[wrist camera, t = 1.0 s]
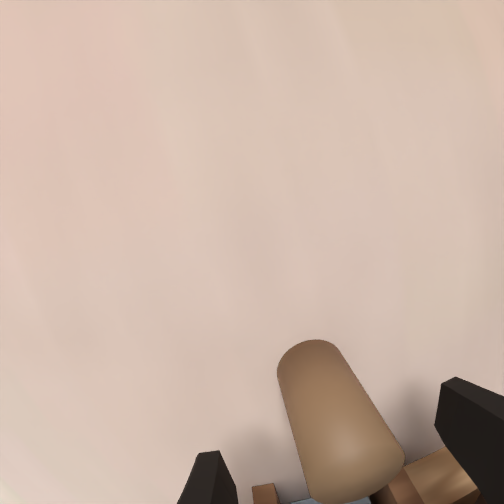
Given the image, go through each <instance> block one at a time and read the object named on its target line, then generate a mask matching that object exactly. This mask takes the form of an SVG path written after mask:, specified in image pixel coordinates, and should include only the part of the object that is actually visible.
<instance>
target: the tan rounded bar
mask: <svg viewBox="0 0 504 504" xmlns="http://www.w3.org/2000/svg"><path fill="white" fill-rule="evenodd" d="M277 377H278V381H279V385H280V388H281V392H282V396H283V399H284V403H285V407H286V410H287V414H288V418H289V421H290V425H291V429H292V432H293V436H294V440H295V443H296V447H297V450H298V454H299V458H300V461H301V465H302V468H303V472H304V476H305V479H306V483H307V486H308V490H309V493H310V496H311V497H312V498H309V499H305V500H301V501H297V502H292V503H291V504H371V502H370V500H369V498H368V496H369V495H371V494H373V493H375V492H377V491H379V490H380V489H382V488H383V487H385V486H386V485H387V484H388V483H390V482H391V481H392V480H393V479H394V478H395V477H396V476H397V474H398V473H399V472H400V470H401V468H402V467H403V464H404V461H405V454H404V452H403V450H402V448H401V447H400V445H399V443H398V442H397V440H396V439H395V437H394V435H393V434H392V432H391V431H390V429H389V428H388V426H387V424H386V423H385V421H384V420H383V418H382V416H381V415H380V413H379V412H378V410H377V409H376V407H375V405H374V404H373V402H372V401H371V399H370V398H369V396H368V394H367V393H366V391H365V390H364V388H363V387H362V385H361V384H360V382H359V380H358V379H357V377H356V376H355V374H354V373H353V371H352V370H351V368H350V366H349V365H348V363H347V362H346V360H345V359H344V357H343V356H342V354H341V353H340V351H339V350H338V348H337V347H336V346H335V345H333V344H332V343H330V342H327V341H324V340H308V341H304V342H301V343H299V344H297V345H295V346H293V347H292V348H291V349H289V350H288V351H287V352H286V353H285V354H284V355H283V357H282V358H281V360H280V362H279V365H278V368H277Z"/></svg>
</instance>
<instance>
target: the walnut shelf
mask: <svg viewBox="0 0 504 504" xmlns="http://www.w3.org/2000/svg"><path fill="white" fill-rule="evenodd" d="M252 492H253V501H254V504H280V501H279V498H278V495H277V492H276V489H275V486H274V483H272V484H266V485H261V486H255V487H252ZM369 500H370V502H371V504H424V502H423V500H422V498H421V497H420V495H419V493H418V492H417V490H416V488H415V486H414V485H413V483H412V481H411V480H410V478H409V476H408V474H407V473H406V471H405V469H404V468H403V467H402V468H401V470H400V472H399V473H398V474H397V476H396V477H395V478H394V479H393V480H392V481H391V482H390V483H388V484H387V485H386V486H385V487H383V488H382V489H380V490H379V491H377V492H375V493H373V494H371V495H370V497H369ZM475 504H487V502H486V501H485V499H484V497H483V495H482V494H481V493H480V495H479V497H478V498H477V500H476V502H475Z"/></svg>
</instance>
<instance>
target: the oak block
mask: <svg viewBox="0 0 504 504" xmlns="http://www.w3.org/2000/svg"><path fill="white" fill-rule="evenodd" d="M403 468H404V469H405V471H406V473H407V474H408V476H409V478H410V480H411V481H412V483H413V485H414V486H415V488H416V490H417V492H418V493H419V495H420V497H421V498H422V500H423V502H424V504H475V502H476V500H477V498H478V497H479V495H480V493H481V492H480V491H479V489H478V488H477V486H476V485H475V484H474V482H473V481H472V480H471V478H470V477H469V476H468V475H467V473H466V472H465V471H464V469H463V468H462V467H461V466H460V464H459V463H458V462H457V460H456V459H455V458H454V457H453V455H452V454H451V453H450V451H449V450H448V449H447V447H444V448H442V449H440V450H438V451H436V452H434V453H432V454H430V455H428V456H426V457H424V458H421V459H419V460H417V461H415V462H413V463H410V464H408V465H406V466H404V467H403Z"/></svg>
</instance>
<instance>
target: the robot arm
mask: <svg viewBox="0 0 504 504" xmlns="http://www.w3.org/2000/svg"><path fill="white" fill-rule="evenodd" d="M434 426H435V428H436V430H437V431H438V433H439V435H440V437H441V439H442V441H443V442H444V444H445V446H446V447H447V449H448V450H449V451H450V453H451V454H452V455H453V457H454V458H455V459H456V460H457V462H458V463H459V464H460V466H461V467H462V468H463V469H464V471H465V472H466V473H467V475H468V476H469V477H470V478H471V480H472V481H473V482H474V484H475V485H476V486H477V488H478V489H479V491H480V492H481V494H482V495H483V497H484V499H485V501H486V502H487V504H504V396H502V395H499V394H497V393H494V392H492V391H489V390H487V389H484V388H482V387H480V386H477V385H475V384H473V383H470V382H468V381H465V380H463V379H460V378H458V377H454V378H452V379H450V380H448V381H446V382H443V383H441V389H440V396H439V402H438V408H437V413H436V419H435V424H434ZM177 504H238V498H237V491H236V486H235V484H234V481H233V479H232V477H231V475H230V473H229V471H228V469H227V466H226V464H225V462H224V460H223V458H222V455H221V453H220V451H219V450H218V451H211V452H203V453H199V454H198V455H197V457H196V460H195V463H194V466H193V468H192V471H191V473H190V476H189V478H188V481H187V483H186V485H185V488H184V490H183V492H182V494H181V496H180V498H179V500H178V502H177Z"/></svg>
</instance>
